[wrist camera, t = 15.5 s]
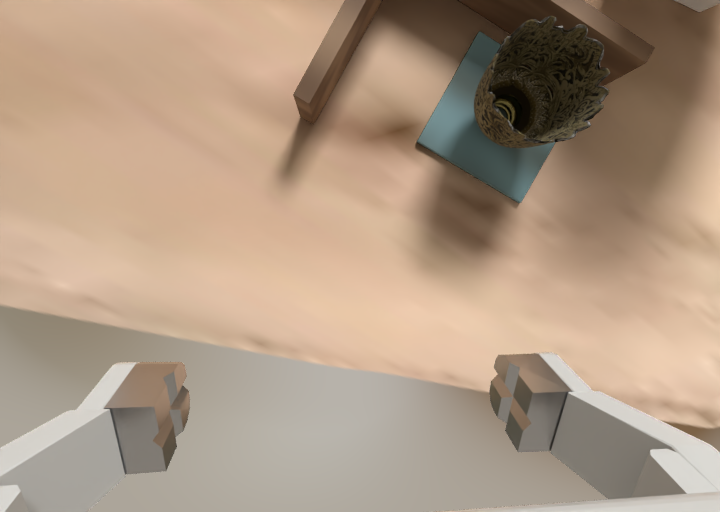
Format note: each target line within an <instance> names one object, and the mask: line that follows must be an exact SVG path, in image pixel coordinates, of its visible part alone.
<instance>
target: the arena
mask: <svg viewBox="0 0 720 512" xmlns="http://www.w3.org/2000/svg"><path fill="white" fill-rule="evenodd" d="M458 1H460V2H462V3H463V4H465V5H466V6H468V7H469V8H471V9H472V10H474V11H476V12H477V13H479V14H480V15H482V16H483V17H485V18H487V19H488V20H490V21H491V22H493V23H494V24H496V25H497V26H499V27H501V28H502V29H504V30H505V31H507V32H508V33H510V34H511V35H512V34H513V33H514V31H515V30H516V29H517V28H518V27H520V26H521V25H522V24H523V23H524V22H526V21H528V20H533V19H536V20H538V21H539V22H540V21H541V20H543V19H544V18H546V17H548V16H554V17H556V20H557V21H555V23H554V24H553V26H563V28H564V29H565V30H569V29H572V28H573V27H574V28H575V26H577V25H579V24H582V25H586V26H587V29H588V33H587V35H586V36H587V37H589V38H593V39H595V40H598V41H600V42H601V43H602V44H603V45H604V54H603V57H602V60H601V62H600V68H601V67H605V68H607V69H609V71H610V74H609V75H608V76H607V77H606V78H605V79H604V80H602V81H601V83H600V84H599V85H600V86H604V85H606V84H608V83H610V82H612V81H613V80H615V79H617V78H619V77H621V76H623V75H625V74H626V73H628V72H630V71H632V70H634V69H636V68H637V67H639V66H641V65H643V64H645V63H646V62H647V60H648V58H649V57H650V55H651V53H652V51H653V50H654V47H653V46H651V45H650V44H648V43H647V42H645V41H644V40H642V39H641V38H639V37H638V36H636V35H635V34H633V33H632V32H630V31H629V30H627V29H626V28H624V27H623V26H621V25H620V24H618V23H617V22H615V21H614V20H612V19H611V18H609V17H608V16H606V15H604V14H603V13H601V12H600V11H598V10H597V9H595V8H594V7H592V6H591V5H589V4H588V3H586V2H585V1H583V0H458ZM381 2H382V0H345V1H344V3H343V5H342V7H341V9H340V10H339V12H338V14H337V16H336V18H335V19H334V21H333V23H332V25H331V27H330V29H329V30H328V32H327V34H326V36H325V38H324V39H323V41H322V43H321V45H320V47H319V49H318V50H317V52H316V54H315V56H314V58H313V59H312V61H311V63H310V65H309V67H308V69H307V70H306V72H305V74H304V76H303V78H302V80H301V81H300V83H299V85H298V87H297V89H296V90H295V92H294V94H293V95H294V98H295V101H296V104H297V107H298V111H299V114H300V117H302V118H303V119H305V120H307V121H308V122H310V123H312V124H313V125H314V123H315V121H316V120H317V118H318V116H319V114H320V112H321V111H322V109H323V107H324V105H325V103H326V102H327V100H328V98H329V96H330V94H331V92H332V91H333V89H334V87H335V85H336V83H337V82H338V80H339V78H340V76H341V74H342V73H343V71H344V69H345V67H346V65H347V63H348V62H349V60H350V58H351V56H352V54H353V53H354V51H355V49H356V47H357V45H358V44H359V42H360V40H361V38H362V36H363V35H364V33H365V31H366V29H367V27H368V25H369V24H370V22H371V20H372V18H373V16H374V15H375V13H376V11H377V9H378V7H379V6H380V4H381ZM500 46H501V44H499V43H497V42H496V41H494V40H493V39H491V38H490V37H488V36H486V35H485V34H483V33H482V32H480V31H479V32H478V34H477V35H476V37H475V39H474V41H473V43H472V44H471V46H470V48H469V50H468V51H467V53H466V55H465V57H464V59H463V60H462V62H461V64H460V66H459V68H458V69H457V71H456V73H455V75H454V76H453V78H452V80H451V82H450V84H449V85H448V87H447V89H446V91H445V92H444V94H443V96H442V98H441V100H440V101H439V103H438V105H437V107H436V108H435V110H434V112H433V114H432V116H431V117H430V119H429V121H428V123H427V125H426V126H425V128H424V130H423V132H422V133H421V135H420V137H419V139H418V141H417V143H419V144H421V145H422V146H424V147H426V148H427V149H429V150H431V151H432V152H434V153H436V154H437V155H439V156H441V157H442V158H444V159H446V160H447V161H449V162H451V163H452V164H454V165H456V166H457V167H459V168H461V169H462V170H464V171H466V172H467V173H469V174H471V175H472V176H474V177H476V178H477V179H479V180H481V181H483V182H484V183H486V184H488V185H489V186H491V187H493V188H494V189H496V190H498V191H499V192H501V193H503V194H504V195H506V196H508V197H509V198H511V199H513V200H514V201H516V202H518V203H521V202H522V200H523V198H524V196H525V195H526V193H527V191H528V190H529V188H530V186H531V184H532V183H533V181H534V179H535V177H536V176H537V174H538V172H539V170H540V169H541V167H542V165H543V163H544V162H545V160H546V158H547V156H548V155H549V153H550V151H551V149H552V148H553V146H554V144H555V142H554V143H549V144H544V145H540V146H535V147H528V148H508V147H504V146H501V145H498V144H496V143H494V142H493V141H491V140H490V139H489V138H487V137H486V136H485V135H484V133H483V132H482V131H481V129H480V128H479V126H478V124H477V121H476V118H475V113H474V98H475V94H476V90H477V87H478V84H479V82H480V80H481V78H482V76H483V74H484V72H485V71H486V69H487V67H488V66H489V64H490V62H491V61H492V59H493V58H494V56H495V54H496V53H497V51H498V50H499V48H500ZM601 69H603V68H601ZM599 85H598V86H599ZM497 108H498V109H499V110H500V112H501V114H502V115H503V116H504V117H505V118H506V119H507V114H506V112H505V111H504V110H503V109H502V108H499V107H497Z"/></svg>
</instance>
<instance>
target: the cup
mask: <svg viewBox="0 0 720 512" xmlns="http://www.w3.org/2000/svg"><path fill="white" fill-rule="evenodd" d="M555 21H557V20H556V17H554V16H548V17H546V18H544V19H543V20H541V21H540V22H539V21H538V20H536V19H533V20H528V21H526V22H524V23H523V24H522V25H521V26H520V27H518V28H517V29H516V30H515V31H514V33H513V34H512V35H511V36H510V37H508V36H507V37H506V38H505V39H504V41H503V43H502V44H501V46H500V48H499V50H498V51H497V53H496V54H495V56H494V58H493V59H492V61H491V62H490V64H489V66H488V67H487V69H486V71H485V72H484V74H483V76H482V78H481V80H480V82H479V84H478V87H477V90H476V94H475V98H474V113H475V118H476V121H477V124H478V126H479V128H480V129H481V131H482V132H483V133H484V135H485V136H486V137H487V138H489V139H490V140H491V141H493V142H494V143H496V144H498V145H501V146H504V147H508V148H528V147H535V146H540V145H544V144H549V143H554V142H558V141H564V140H568V139H571V138H574V137H575V136H576V133H577V132H579V131H582V130H584V129H586V128H588V127H590V126H591V124H590V122H588V121H587V120H590V119H592V118H593V117H594V115H596V114H597V113H598V112H599V111H600V110H601V109H602V108H603V107H604V105H603V104H601V103H600V102H602V101H603V100H604V99H605V97H606V96H607V95H608V93H609V90H608V89H607V88H605V87H603V86H600V85H599V84H600V83H601V81H602V80H604V79H605V78H606V77H607V76H608V75H609V74H610V71H609V69H607V68H605V67H601V68H603V69H601V68H600V62H601V60H602V57H603V54H604V45H603V44H602V43H601V42H600V41H598V40H595V39H593V38H589V37H587V36H586V35H587V33H588V29H587V26H586V25H582V24H579V25H577V26H575V28H574V27H573V28H572V29H569V30H565V29H564V28H563V26H553V24H554V23H555ZM598 85H599V86H598ZM497 107H499V108H502V109H503V110H504V111H505V112H506V114H507V119H506V118H505V117H504V116H503V115H502V114H501V112H500V110H499V109H498V108H497Z"/></svg>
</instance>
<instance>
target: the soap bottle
mask: <svg viewBox="0 0 720 512" xmlns="http://www.w3.org/2000/svg"><path fill="white" fill-rule="evenodd" d="M674 1H676V2H678V3H681V4H683V5H685V6H687V7H689V8H691V9H693V10H695V11H697V12H701V11H704V10H706V9H708V8H711V7H713V6H715V5H718V4H720V0H674Z"/></svg>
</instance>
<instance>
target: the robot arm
mask: <svg viewBox="0 0 720 512" xmlns="http://www.w3.org/2000/svg"><path fill="white" fill-rule="evenodd" d="M494 368H495V370H496V372H497V373H498V375H497V376H496V377H495V378H494V379H493V380H492V381H491V385H490V401H491V405H492V408H493V410H494V412H495V414H496V416H497V417H498V418H499V419H501V420H502V421H504V422H505V423H507V425H506V430H505V431H506V433H507V435H508V436H509V438H510V440H511V441H512V443H513V445H514V446H515V448H516V450H517V451H518V452H538V451H551V454H552V455H554V456H555V457H556V458H557V459H559V460H560V461H561V462H562V463H564V464H565V465H566V466H567V467H569V468H570V469H571V470H573V471H574V472H575V473H576V474H577V475H579V476H580V477H581V478H582V479H584V480H585V481H586V482H587V483H589V484H590V485H591V486H593V487H594V488H595V489H596V490H598V491H599V492H600V493H601V494H603V495H604V496H605V497H606V498H608V499H606V500H593V501H578V502H566V503H552V504H537V505H523V506H508V507H494V508H479V509H466V510H465V509H464V510H451V511H436V512H720V452H718V451H717V450H716V449H715V448H713V446H712V445H710V444H708V443H706V442H703V441H702V440H699V439H697V438H695V437H693V436H691V435H689V434H687V433H685V432H683V431H681V430H679V429H677V428H675V427H672V426H670V425H668V424H666V423H664V422H662V421H660V420H658V419H656V418H654V417H652V416H650V415H648V414H645V413H643V412H641V411H639V410H637V409H635V408H633V407H631V406H629V405H627V404H625V403H623V402H621V401H618V400H616V399H614V398H612V397H610V396H608V395H606V394H604V393H602V392H600V391H593V390H592V389H591V388H590V387H589V386H588V385H587V384H586V383H585V382H584V381H583V380H582V379H581V378H580V377H579V376H578V375H577V374H576V373H575V372H574V371H573V370H572V369H571V368H570V367H569V366H568V365H567V364H566V363H565V362H564V361H563V360H562V359H561V358H560V357H559V356H558V355H557V354H555V353H552V352H545V353H534V354H510V355H498V357H497V358H496V361H495V365H494ZM185 379H186V370H185V365H184V364H183V363H182V362H140V363H138V362H130V363H128V362H127V363H117V364H114V365H113V366H112V367H111V368H110V369H109V370H108V371H107V373H106V374H105V375H104V376H103V378H102V379H101V380H100V381H99V383H98V384H97V385H96V386H95V387H94V389H93V390H92V391H91V392H90V394H89V395H88V396H87V397H86V398H85V400H84V401H83V402H82V403H81V405H80V406H79V407H78V408H77V409H76V410H69V411H67V412H65V413H63V414H61V415H60V416H58V417H56V418H54V419H52V420H50V421H48V422H47V423H45V424H43V425H41V426H39V427H37V428H36V429H34V430H32V431H30V432H28V433H26V434H25V435H23V436H21V437H19V438H17V439H16V440H14V441H12V442H10V443H8V444H7V445H5V446H3V447H1V448H0V512H88V511H89V510H90V509H91V508H92V507H93V506H94V505H95V504H96V503H97V502H98V501H100V500H101V499H102V498H103V497H104V496H105V495H106V494H107V493H108V492H109V491H110V490H111V489H113V488H114V487H115V486H116V485H117V484H118V483H119V482H120V481H121V480H122V479H123V478H125V474H137V473H149V472H161V471H166V470H167V468H168V466H169V463H170V461H171V459H172V456H173V454H174V451H175V449H176V447H177V445H176V438H175V437H176V436H177V435H179V434H180V433H181V432H183V430H184V428H185V425H186V423H187V420H188V415H189V409H190V397H189V391H188V390H187V389H186V388H185V387H184V386H183V383H184V381H185Z"/></svg>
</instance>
